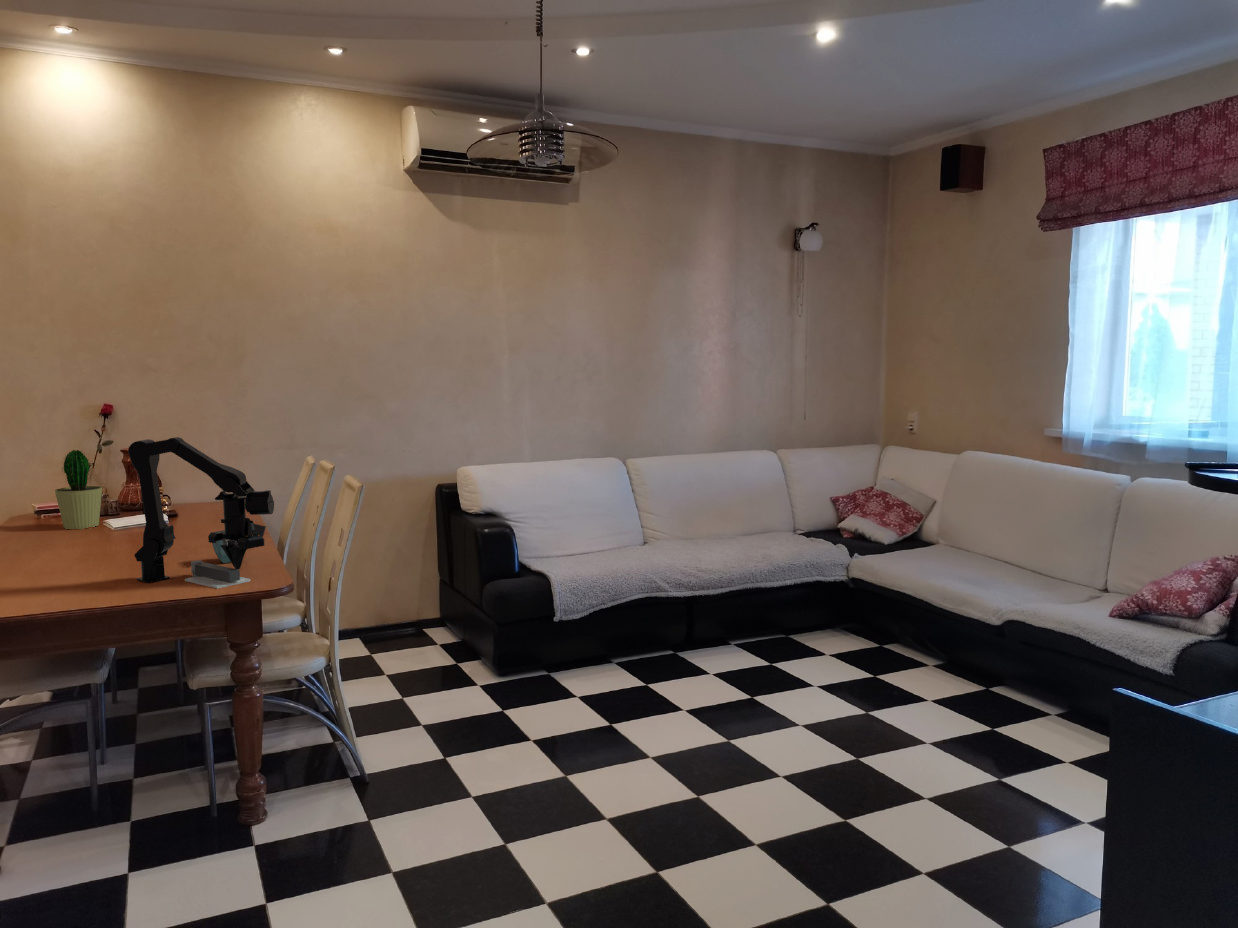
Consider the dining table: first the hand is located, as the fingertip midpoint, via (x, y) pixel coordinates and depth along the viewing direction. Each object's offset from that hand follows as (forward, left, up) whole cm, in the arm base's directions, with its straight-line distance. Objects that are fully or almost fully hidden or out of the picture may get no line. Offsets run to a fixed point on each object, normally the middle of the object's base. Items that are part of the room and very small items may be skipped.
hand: (237, 568), depth 253 cm
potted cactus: (-125, +15, -3) cm, 126 cm away
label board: (-3, -6, -2) cm, 7 cm away
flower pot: (-22, +11, -3) cm, 25 cm away
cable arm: (-2, -6, -1) cm, 6 cm away
